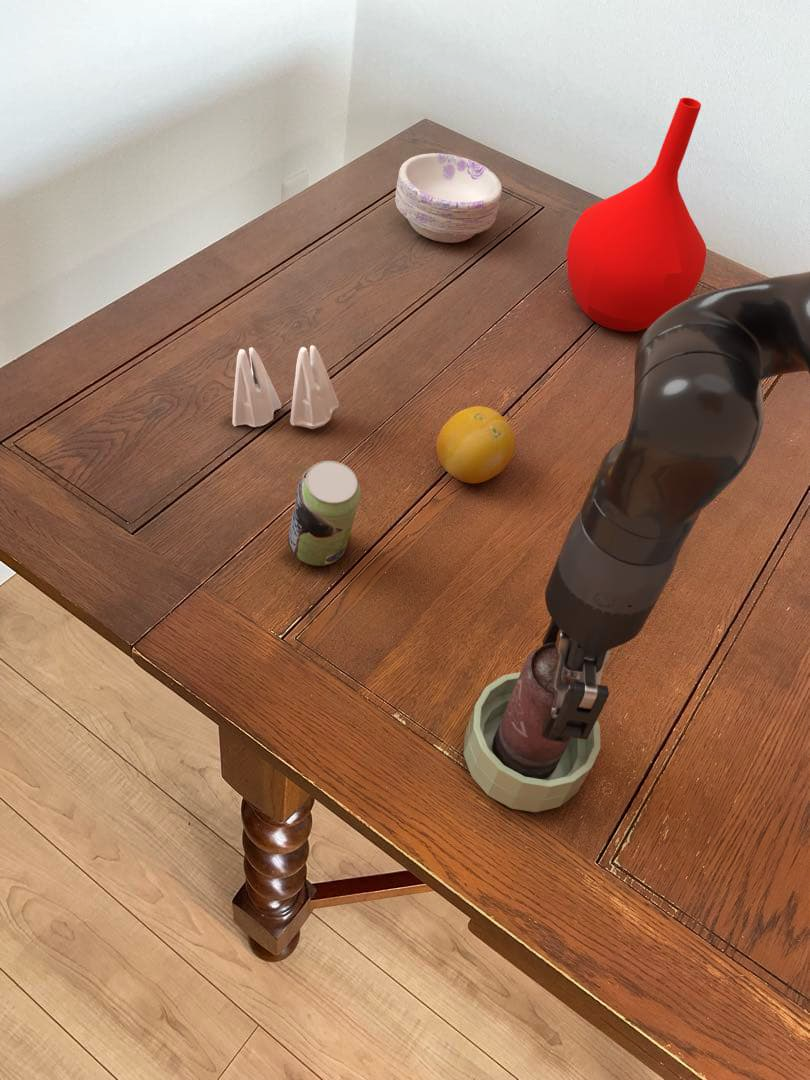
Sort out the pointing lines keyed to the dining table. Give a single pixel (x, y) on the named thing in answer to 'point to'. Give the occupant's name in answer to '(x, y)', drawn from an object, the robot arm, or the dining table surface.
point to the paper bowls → (447, 196)
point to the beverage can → (323, 513)
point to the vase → (639, 242)
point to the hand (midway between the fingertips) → (554, 690)
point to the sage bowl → (506, 781)
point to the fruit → (475, 444)
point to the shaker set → (261, 400)
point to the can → (531, 718)
